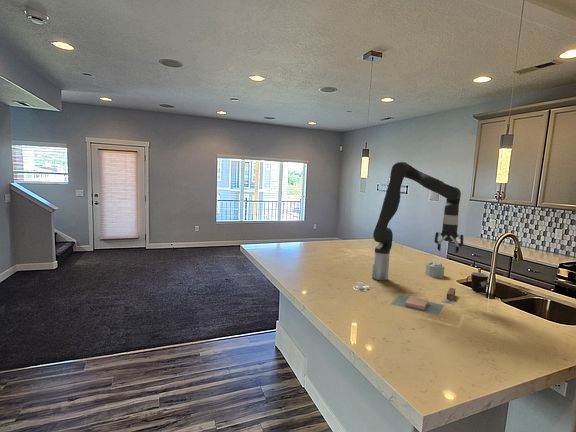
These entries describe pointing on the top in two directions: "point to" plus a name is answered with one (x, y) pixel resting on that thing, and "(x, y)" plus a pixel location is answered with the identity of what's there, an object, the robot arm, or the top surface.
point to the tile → (417, 303)
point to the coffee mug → (478, 281)
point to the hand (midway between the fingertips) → (447, 251)
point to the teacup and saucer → (361, 286)
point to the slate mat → (431, 308)
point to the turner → (449, 296)
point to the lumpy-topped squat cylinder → (434, 269)
